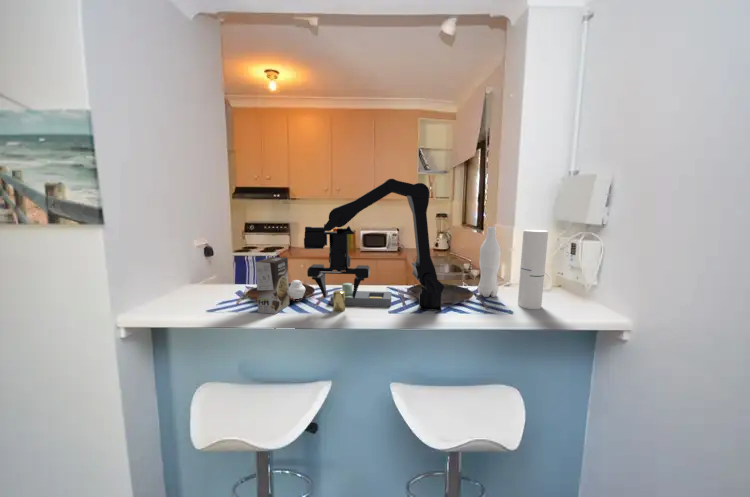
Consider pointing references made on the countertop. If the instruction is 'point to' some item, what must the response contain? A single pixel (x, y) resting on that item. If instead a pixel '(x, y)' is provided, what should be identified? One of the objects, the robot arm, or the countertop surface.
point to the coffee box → (272, 284)
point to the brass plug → (339, 301)
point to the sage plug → (348, 289)
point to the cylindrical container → (532, 268)
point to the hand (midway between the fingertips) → (339, 297)
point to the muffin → (296, 289)
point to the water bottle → (489, 264)
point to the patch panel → (367, 299)
